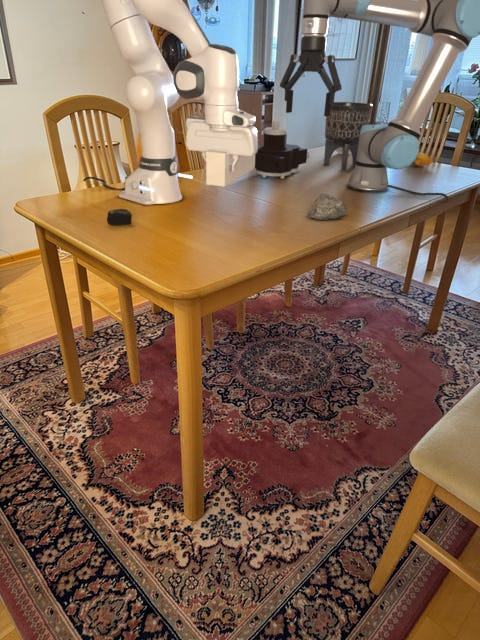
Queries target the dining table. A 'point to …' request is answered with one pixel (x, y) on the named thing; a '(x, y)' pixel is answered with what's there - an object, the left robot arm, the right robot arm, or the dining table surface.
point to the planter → (345, 129)
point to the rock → (327, 208)
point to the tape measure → (119, 217)
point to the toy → (422, 160)
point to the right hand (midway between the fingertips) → (307, 114)
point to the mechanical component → (278, 154)
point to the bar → (226, 167)
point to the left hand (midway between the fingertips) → (221, 169)
